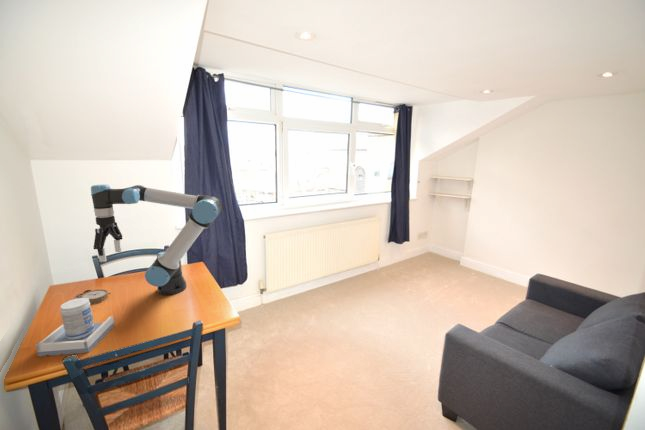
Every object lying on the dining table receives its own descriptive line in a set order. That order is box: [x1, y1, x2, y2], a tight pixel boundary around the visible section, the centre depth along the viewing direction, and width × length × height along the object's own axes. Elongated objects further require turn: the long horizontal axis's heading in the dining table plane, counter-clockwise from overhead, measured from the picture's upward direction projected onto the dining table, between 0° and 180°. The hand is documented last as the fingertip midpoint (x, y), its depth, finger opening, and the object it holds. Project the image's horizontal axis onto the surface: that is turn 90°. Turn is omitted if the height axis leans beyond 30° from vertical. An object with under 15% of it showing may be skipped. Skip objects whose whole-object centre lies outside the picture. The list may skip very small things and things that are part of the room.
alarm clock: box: [73, 288, 111, 305], centre depth 152 cm, size 11×5×15 cm
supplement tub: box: [59, 297, 95, 340], centre depth 119 cm, size 10×10×15 cm
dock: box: [35, 315, 115, 357], centre depth 119 cm, size 18×18×5 cm
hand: (111, 256), depth 143 cm, fingers open, 13 cm apart
